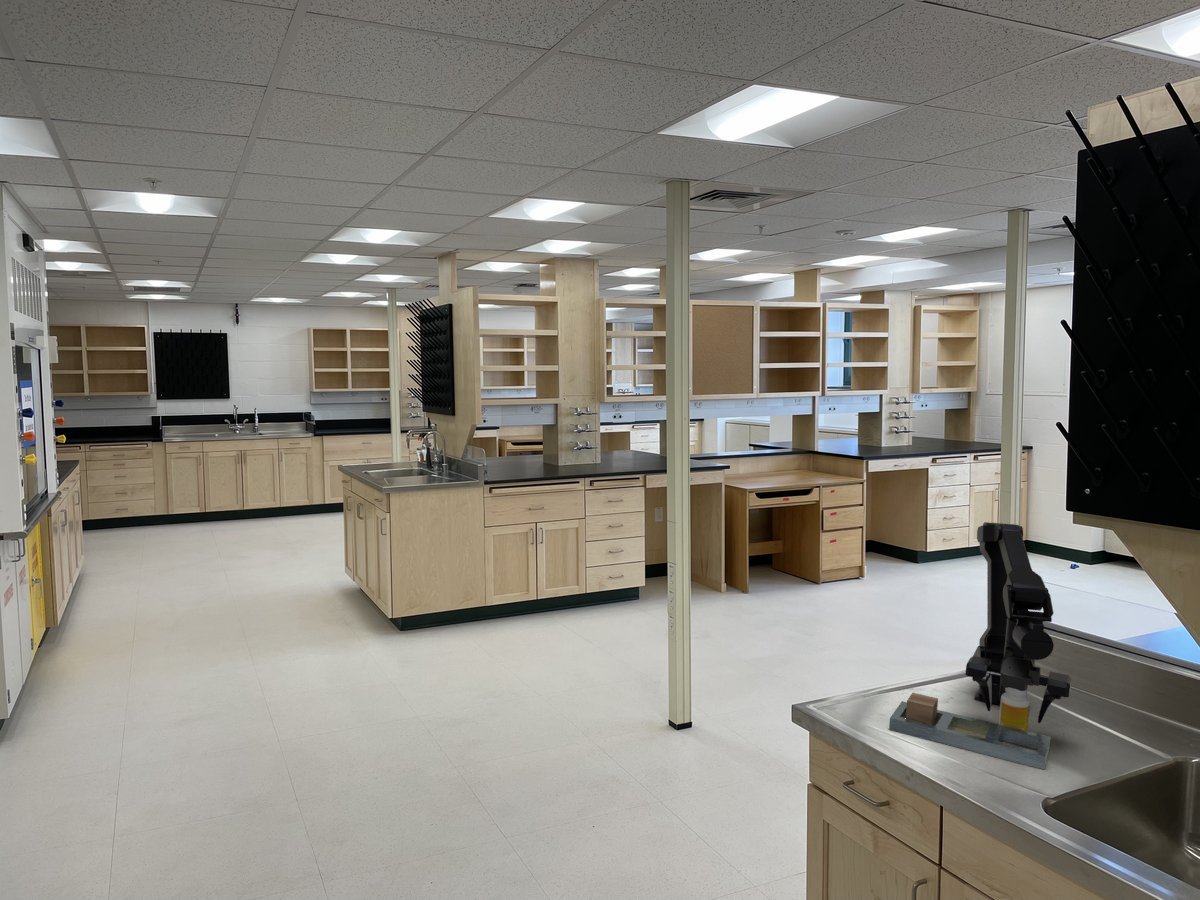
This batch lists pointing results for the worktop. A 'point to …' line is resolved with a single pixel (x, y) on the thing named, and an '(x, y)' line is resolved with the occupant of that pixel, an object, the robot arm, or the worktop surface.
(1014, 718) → the supplement bottle
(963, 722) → the rail
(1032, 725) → the worktop surface
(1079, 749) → the worktop surface
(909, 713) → the walnut block
